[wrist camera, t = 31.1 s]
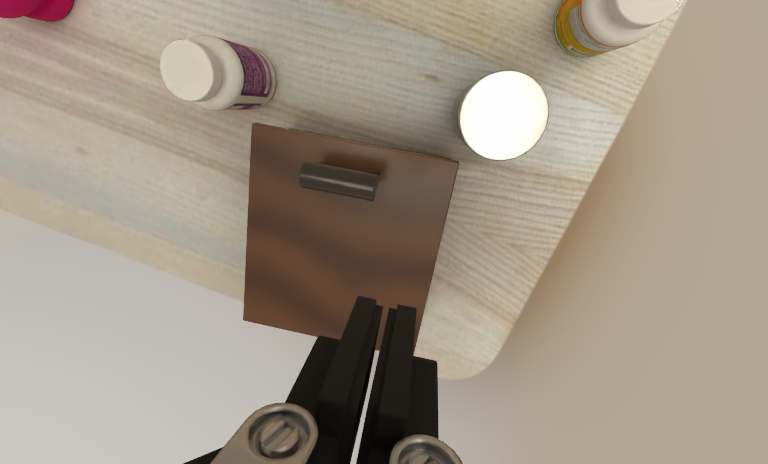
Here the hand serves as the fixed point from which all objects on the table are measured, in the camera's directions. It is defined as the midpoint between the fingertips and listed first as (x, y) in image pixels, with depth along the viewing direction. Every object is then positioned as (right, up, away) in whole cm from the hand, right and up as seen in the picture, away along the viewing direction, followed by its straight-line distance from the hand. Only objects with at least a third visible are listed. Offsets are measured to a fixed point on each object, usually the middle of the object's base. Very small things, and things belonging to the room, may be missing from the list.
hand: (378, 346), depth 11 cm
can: (+9, +14, +23) cm, 28 cm away
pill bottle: (-12, +17, +25) cm, 33 cm away
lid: (-3, +2, +21) cm, 21 cm away
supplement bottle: (+17, +20, +20) cm, 33 cm away
